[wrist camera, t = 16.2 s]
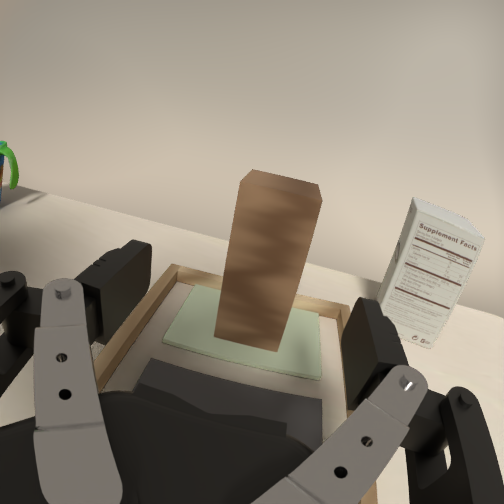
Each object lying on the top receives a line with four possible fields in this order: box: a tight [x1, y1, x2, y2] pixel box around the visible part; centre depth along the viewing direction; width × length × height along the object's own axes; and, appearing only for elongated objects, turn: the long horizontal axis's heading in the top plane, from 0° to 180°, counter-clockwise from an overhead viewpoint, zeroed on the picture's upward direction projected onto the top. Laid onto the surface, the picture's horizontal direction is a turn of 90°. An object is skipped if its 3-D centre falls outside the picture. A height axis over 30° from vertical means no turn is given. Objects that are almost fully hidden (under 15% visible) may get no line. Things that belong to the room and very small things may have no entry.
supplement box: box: [377, 197, 485, 349], centre depth 28 cm, size 7×7×13 cm
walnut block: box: [214, 169, 322, 352], centre depth 23 cm, size 5×5×12 cm
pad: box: [163, 284, 321, 380], centre depth 26 cm, size 12×8×1 cm
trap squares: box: [132, 358, 322, 452], centre depth 14 cm, size 12×13×1 cm
